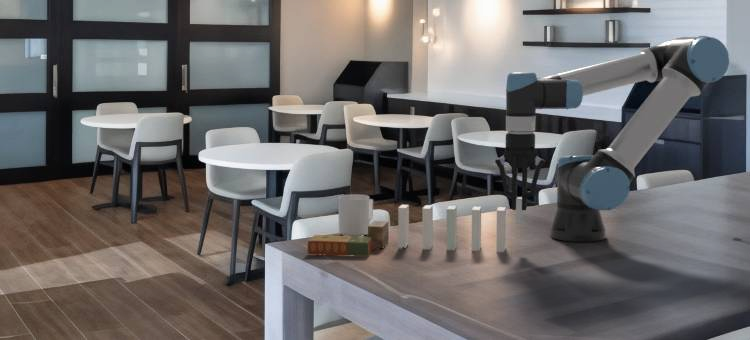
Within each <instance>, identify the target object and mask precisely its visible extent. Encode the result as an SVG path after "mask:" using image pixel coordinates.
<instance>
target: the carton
mask: <svg viewBox="0 0 750 340" xmlns="http://www.w3.org/2000/svg"><path fill="white" fill-rule="evenodd" d="M372 250H374V249H373V237H368V236H364V237H359V236H342V235H320V234H318V235H316V234H314V235H312V236H311V238H310V239H309V240H308V241H307V255H308V254H316V255H319V254H321V255H324V254H325V255H354V256H369V255H370V256H371V254H372V252H373V251H372ZM370 253H371V254H370ZM370 256H369V257H370Z"/></svg>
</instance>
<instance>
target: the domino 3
mask: <svg viewBox="0 0 750 340" xmlns="http://www.w3.org/2000/svg"><path fill="white" fill-rule="evenodd" d="M457 207H458V206H457V205H448V207H447V208H446V251H455V249H457V240H458V239H457V233H458V232H457V226H458V225H457V222H458V221H457Z"/></svg>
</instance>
